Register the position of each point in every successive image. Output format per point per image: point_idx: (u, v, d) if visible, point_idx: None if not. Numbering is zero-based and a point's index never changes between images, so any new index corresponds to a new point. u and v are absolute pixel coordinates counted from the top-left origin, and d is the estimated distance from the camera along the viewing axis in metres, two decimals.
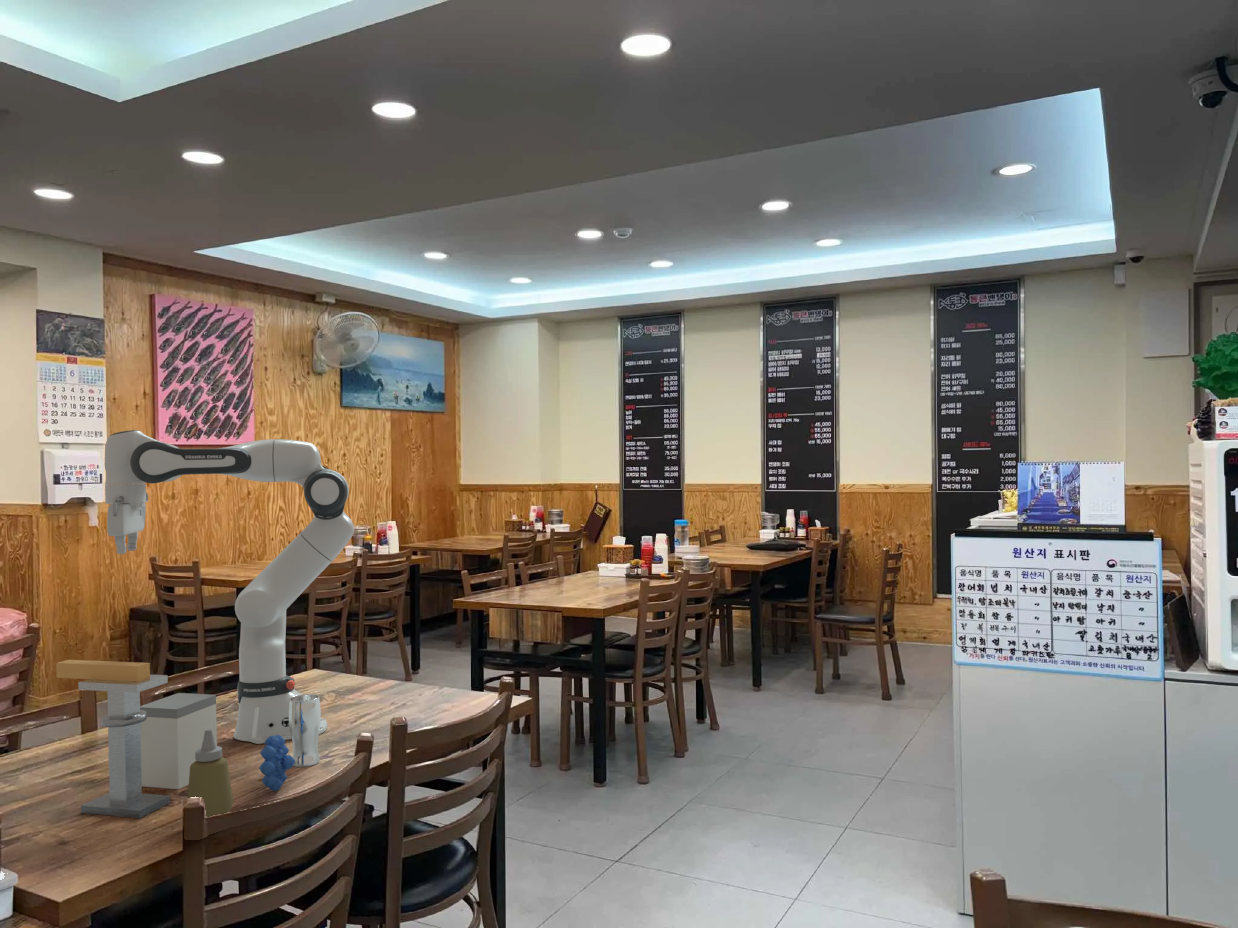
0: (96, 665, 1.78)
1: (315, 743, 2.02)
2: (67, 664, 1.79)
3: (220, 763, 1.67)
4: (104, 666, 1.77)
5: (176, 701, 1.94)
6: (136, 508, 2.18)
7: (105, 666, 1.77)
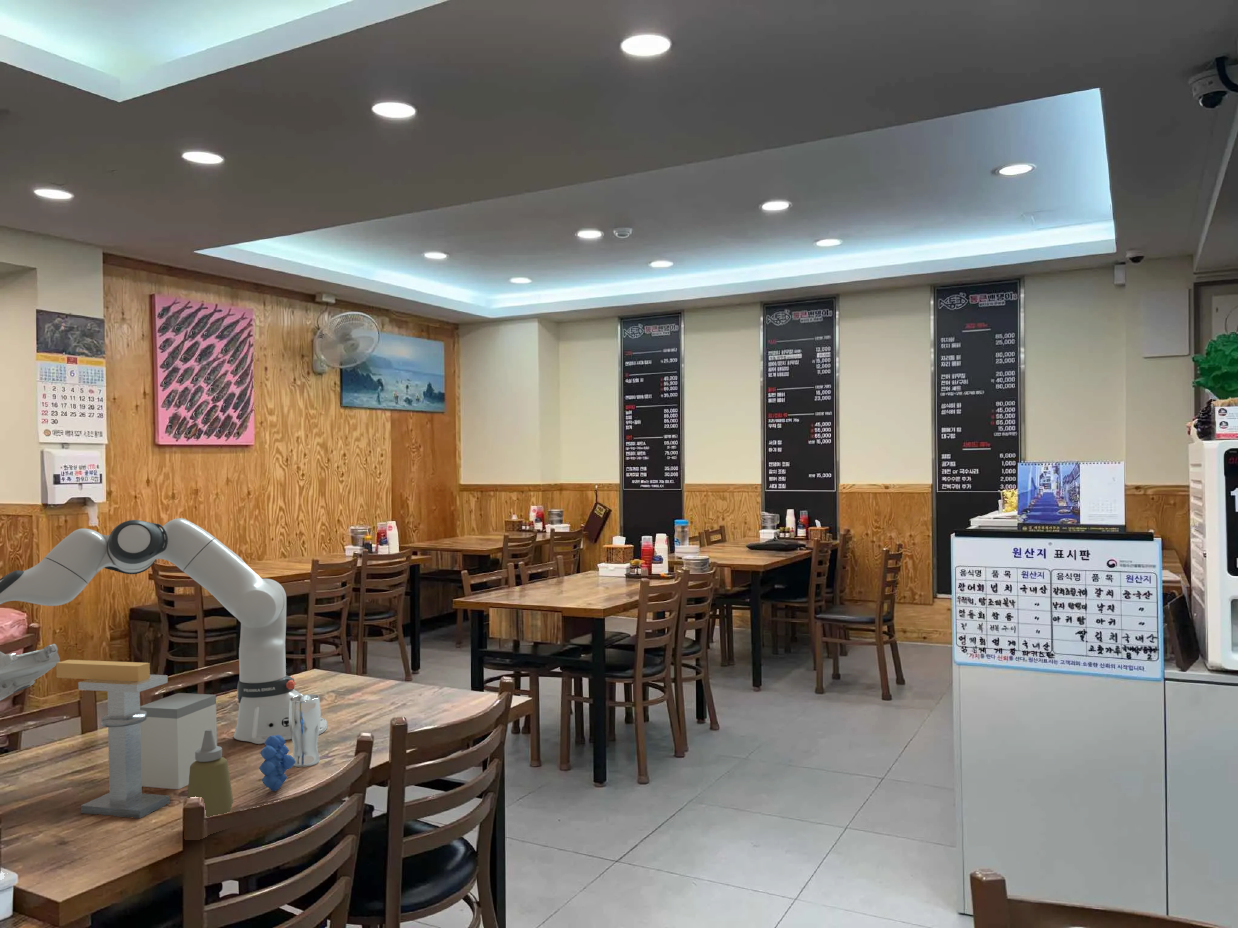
0: (96, 665, 1.78)
1: (315, 743, 2.02)
2: (67, 664, 1.79)
3: (220, 763, 1.67)
4: (104, 666, 1.77)
5: (176, 701, 1.94)
6: None
7: (105, 666, 1.77)
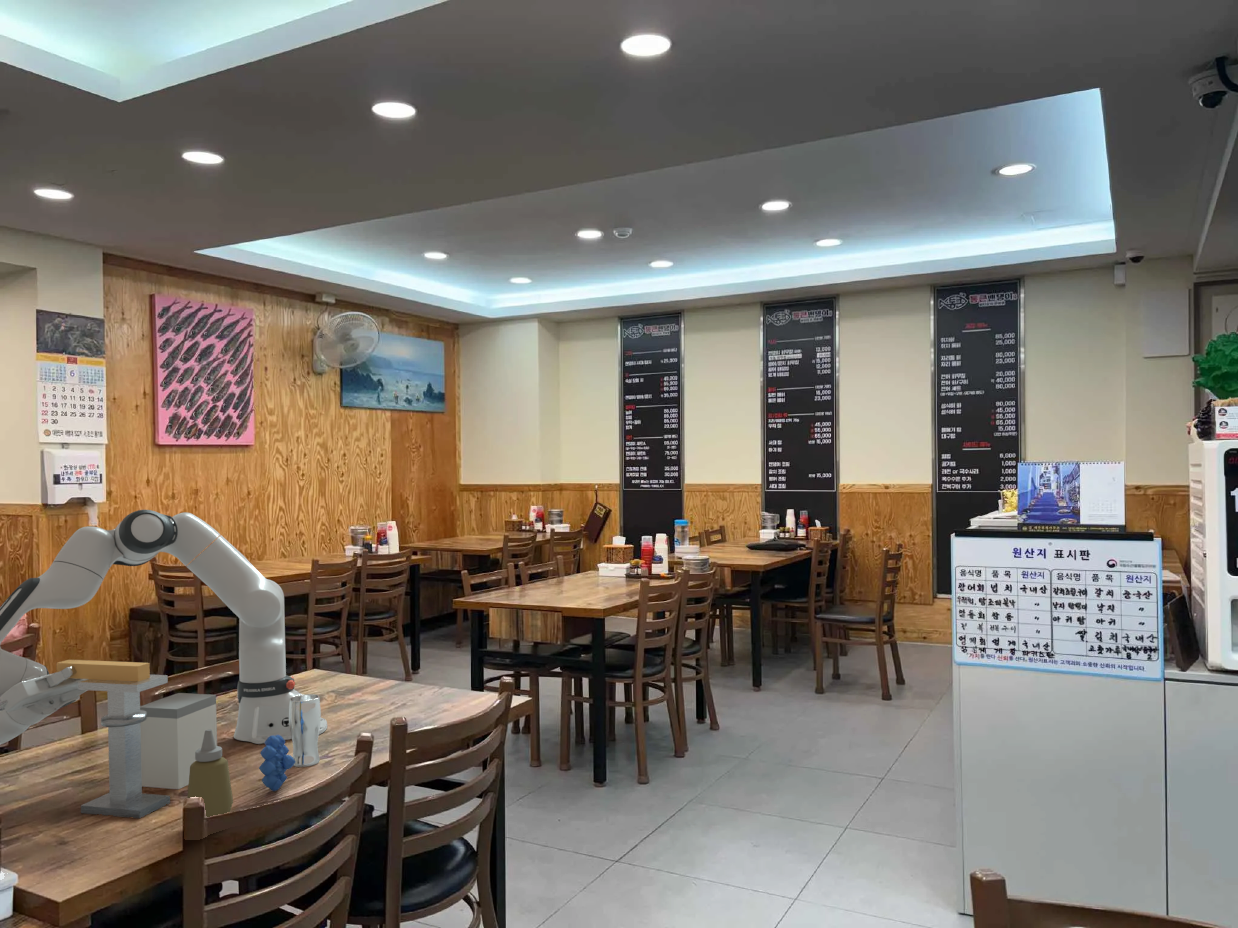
0: (96, 665, 1.78)
1: (315, 743, 2.02)
2: (67, 664, 1.79)
3: (220, 763, 1.67)
4: (104, 666, 1.77)
5: (176, 701, 1.94)
6: None
7: (105, 666, 1.77)
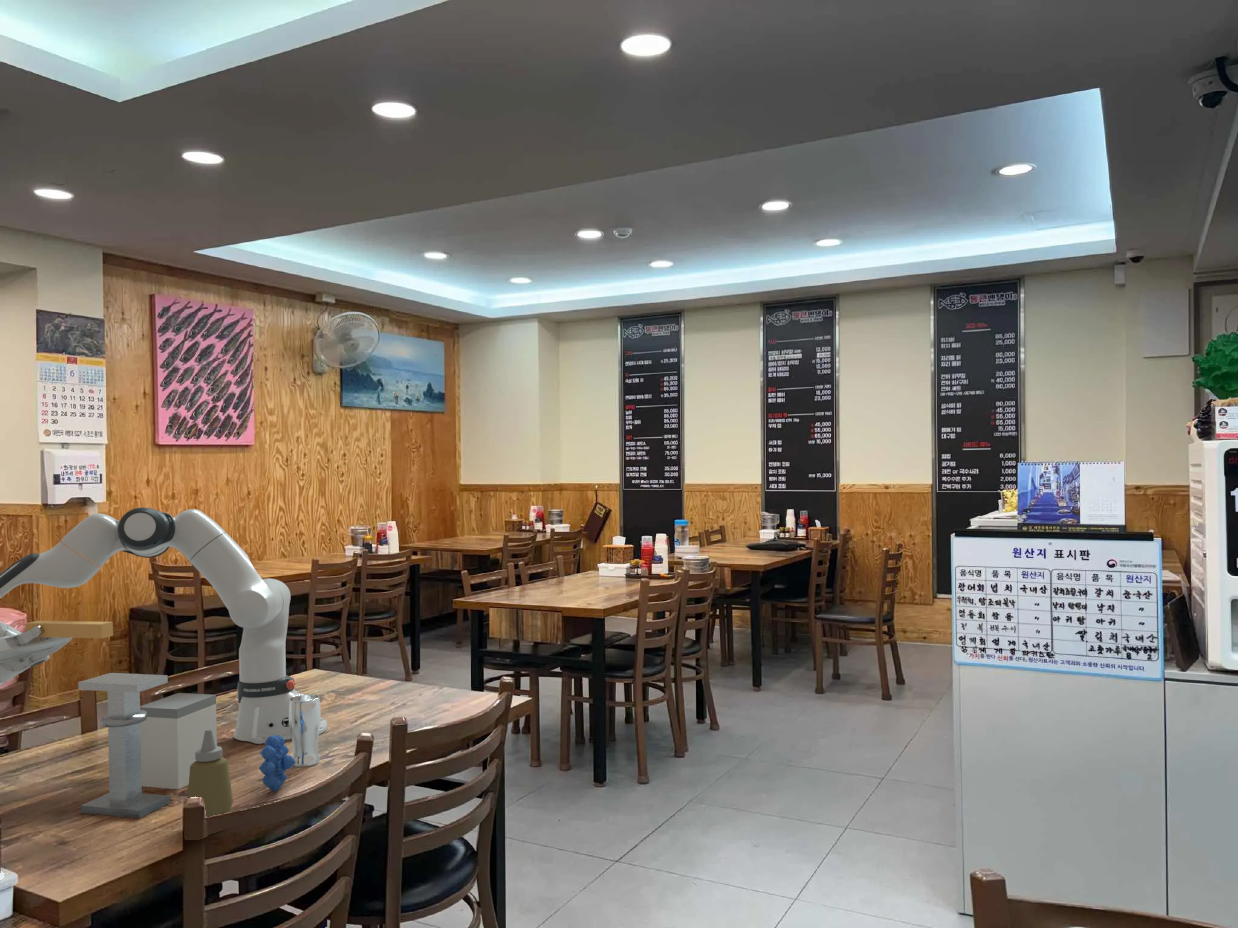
0: (63, 624, 1.91)
1: (315, 743, 2.02)
2: (36, 624, 1.93)
3: (220, 763, 1.67)
4: (70, 625, 1.90)
5: (176, 701, 1.94)
6: None
7: (71, 625, 1.90)
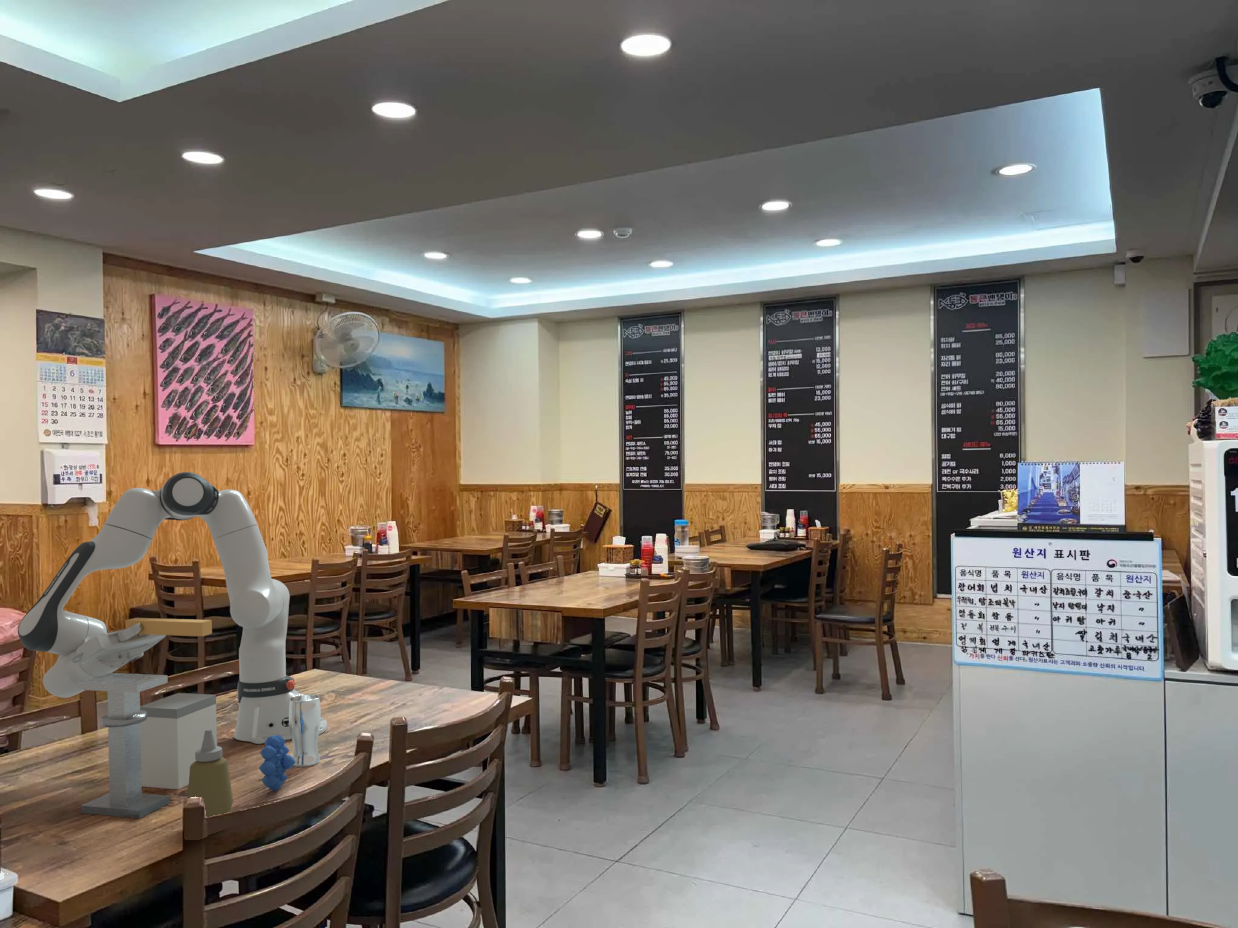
0: (163, 622, 1.94)
1: (315, 743, 2.02)
2: (135, 621, 1.96)
3: (220, 763, 1.67)
4: (170, 623, 1.93)
5: (176, 701, 1.94)
6: None
7: (171, 623, 1.93)
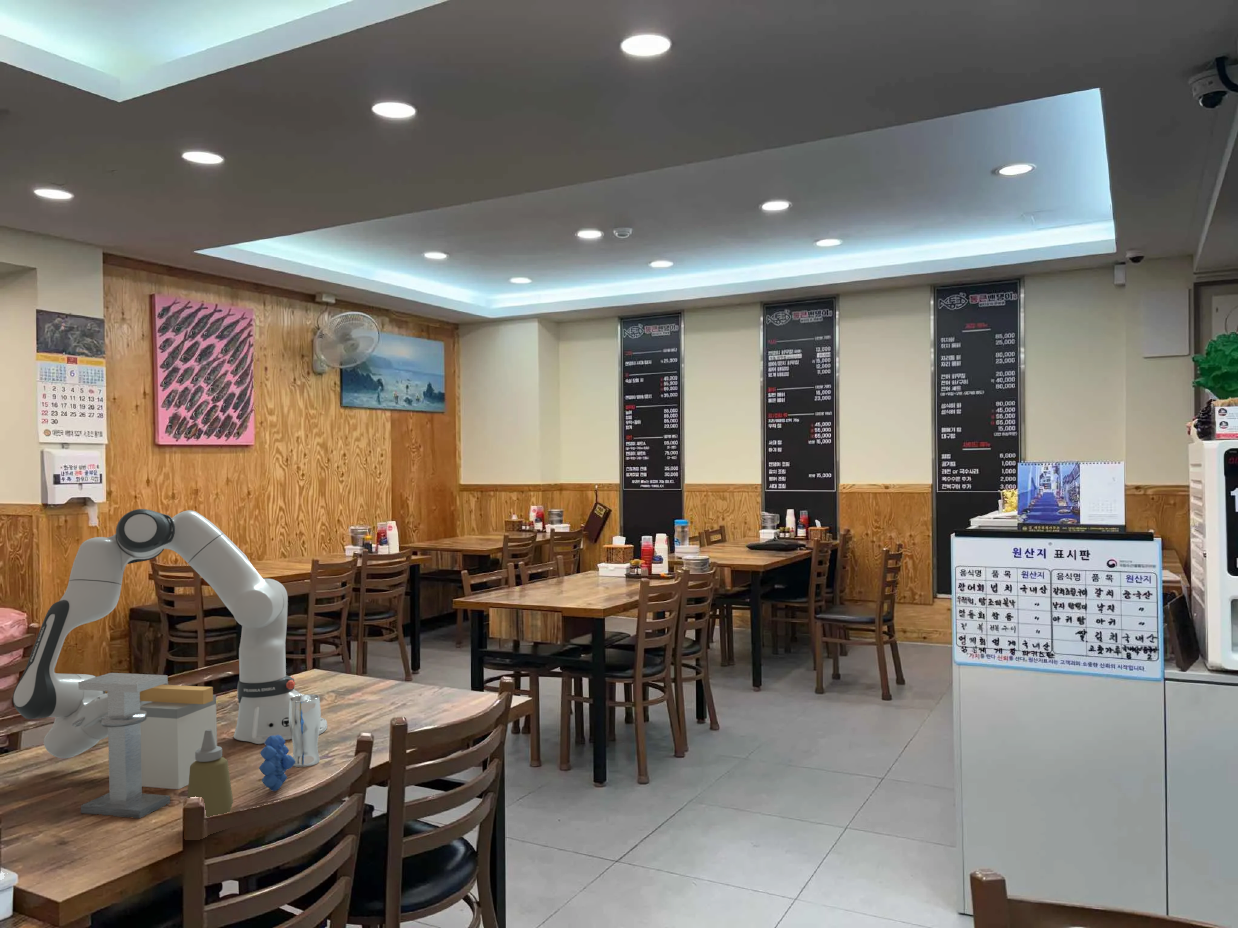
0: (164, 689, 1.94)
1: (315, 743, 2.02)
2: None
3: (220, 763, 1.67)
4: (171, 690, 1.93)
5: None
6: None
7: (172, 690, 1.93)
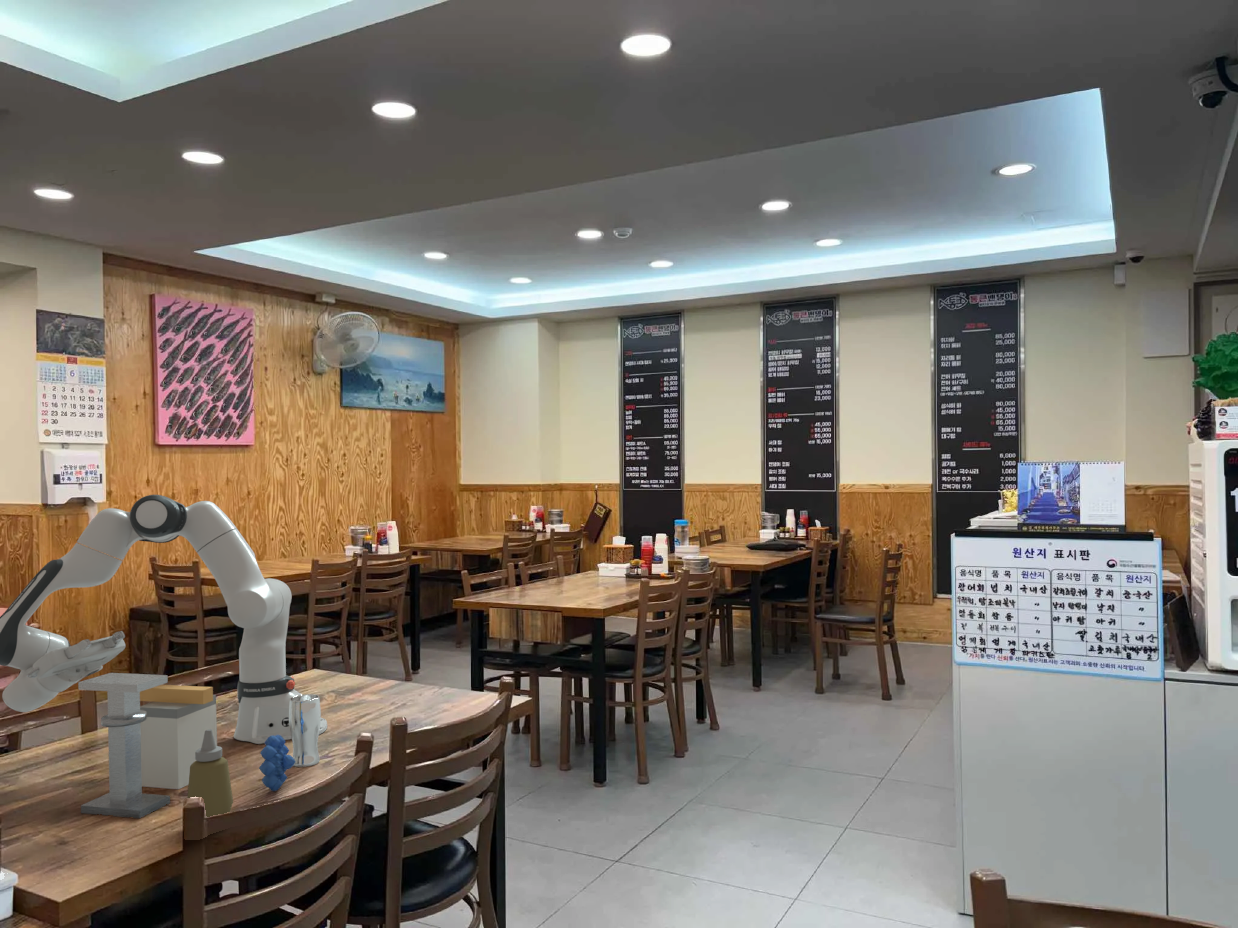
0: (164, 689, 1.94)
1: (315, 743, 2.02)
2: None
3: (220, 763, 1.67)
4: (171, 690, 1.93)
5: None
6: None
7: (172, 690, 1.93)
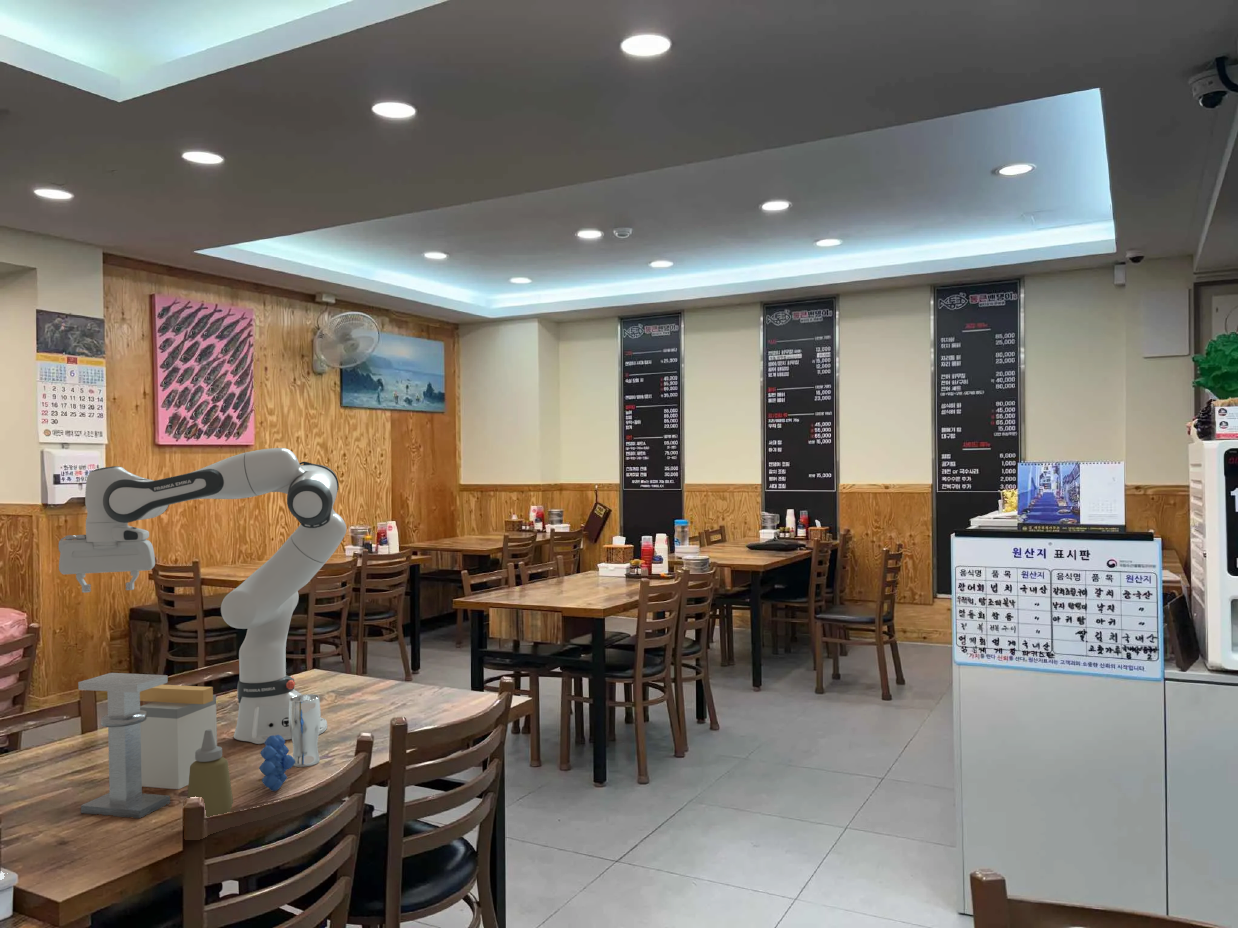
0: (164, 689, 1.94)
1: (315, 743, 2.02)
2: None
3: (220, 763, 1.67)
4: (171, 690, 1.93)
5: None
6: (96, 547, 2.11)
7: (172, 690, 1.93)
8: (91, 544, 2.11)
